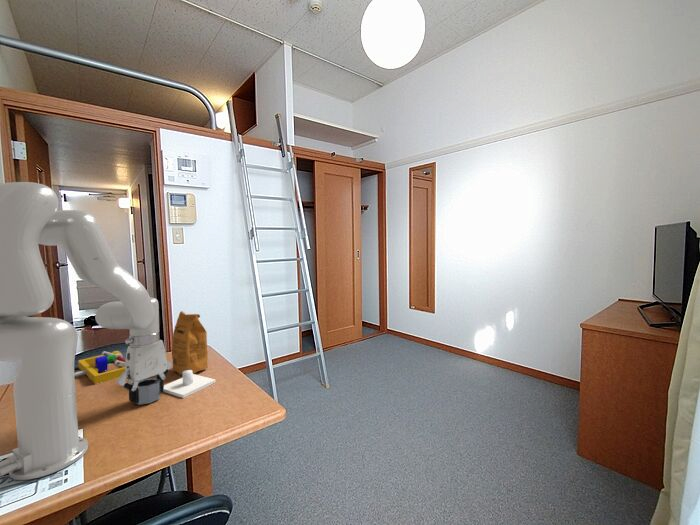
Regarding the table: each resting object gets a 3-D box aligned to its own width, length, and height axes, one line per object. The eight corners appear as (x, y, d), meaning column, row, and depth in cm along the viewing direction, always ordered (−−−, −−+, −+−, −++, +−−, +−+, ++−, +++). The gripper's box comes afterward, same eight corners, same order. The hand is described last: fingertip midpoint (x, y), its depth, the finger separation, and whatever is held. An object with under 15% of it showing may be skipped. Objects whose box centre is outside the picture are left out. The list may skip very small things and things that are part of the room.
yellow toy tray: (116, 342, 135) (141, 357, 117) (117, 356, 136) (142, 373, 117) (59, 354, 121) (77, 373, 102) (60, 370, 122) (79, 391, 103)
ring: (142, 406, 91) (141, 389, 91) (129, 401, 94) (128, 385, 94) (164, 396, 97) (164, 380, 97) (151, 392, 100) (151, 377, 100)
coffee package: (194, 362, 126) (191, 308, 124) (211, 369, 119) (209, 311, 117) (168, 371, 118) (165, 313, 116) (185, 378, 111) (182, 317, 109)
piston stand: (183, 398, 96) (182, 382, 96) (159, 390, 102) (158, 375, 101) (215, 382, 107) (215, 368, 107) (192, 376, 112) (191, 362, 112)
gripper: (120, 348, 85) (123, 413, 86) (180, 333, 101) (181, 388, 101) (105, 345, 89) (108, 407, 89) (165, 331, 104) (167, 384, 105)
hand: (147, 396), depth 95 cm, fingers closed on ring, 6 cm apart
